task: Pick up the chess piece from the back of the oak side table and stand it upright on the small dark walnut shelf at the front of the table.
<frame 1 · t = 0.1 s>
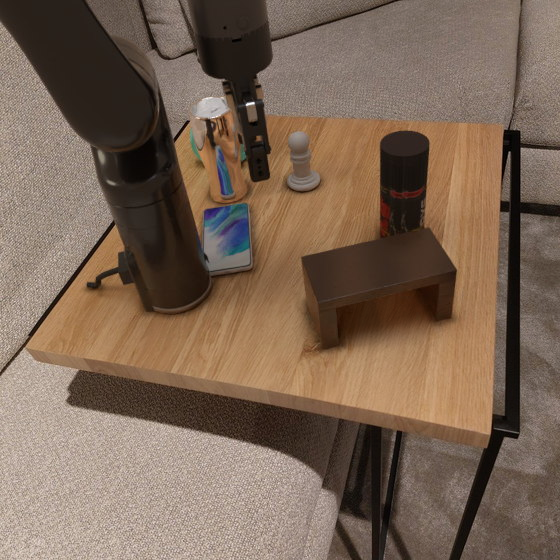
hand: (254, 160, 69), 17 cm above the table, tool pointing down, fingers open, 8 cm apart
shelf: (376, 310, 73), on the table
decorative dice: (225, 157, 103), on the table
chess piece: (304, 183, 94), on the table
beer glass: (229, 193, 95), on the table
deodorant: (401, 238, 82), on the table
smartphone: (227, 241, 86), on the table, touching arm
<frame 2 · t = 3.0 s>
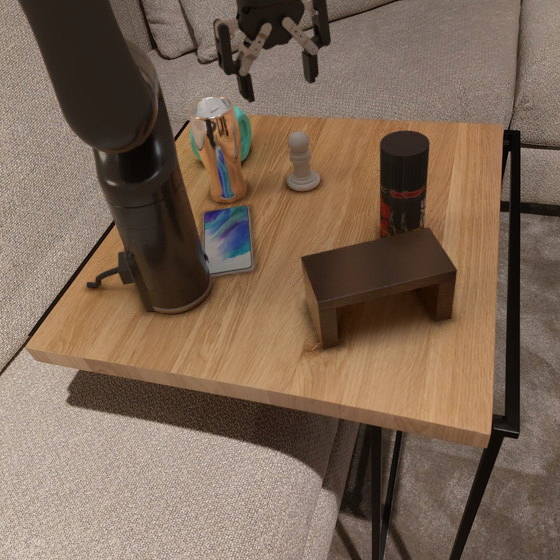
hand: (280, 90, 76), 19 cm above the table, tool pointing down, fingers open, 8 cm apart
smartphone: (228, 243, 86), on the table
everything else where it was.
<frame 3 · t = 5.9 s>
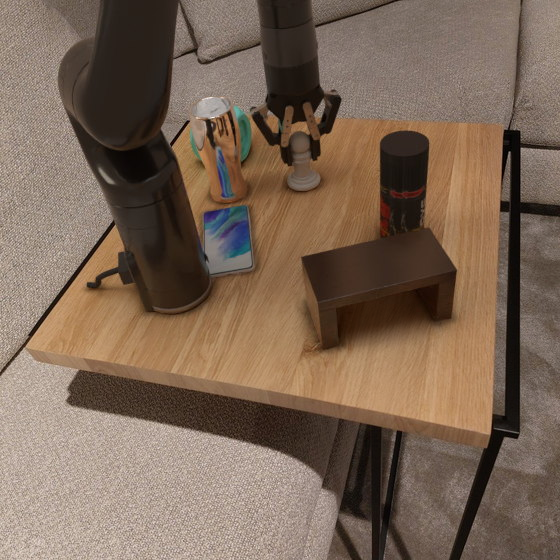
hand: (301, 160, 91), 4 cm above the table, tool pointing down, fingers closed on chess piece, 3 cm apart
chess piece: (304, 183, 94), on the table, touching gripper
everything else where it was.
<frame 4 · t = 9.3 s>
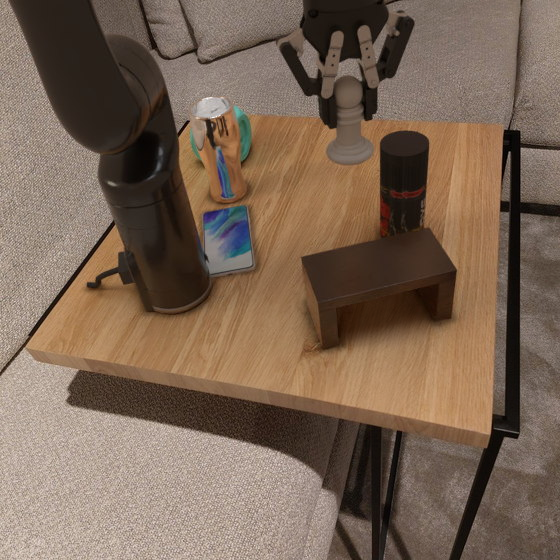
hand: (348, 120, 63), 22 cm above the table, tool pointing down, fingers closed on chess piece, 3 cm apart
chess piece: (350, 155, 66), point 18 cm above the table, touching gripper
everything else where it was.
when the fingers open (12 cm above the table, at t = 12.6 s): chess piece stays where it is, resting on shelf.
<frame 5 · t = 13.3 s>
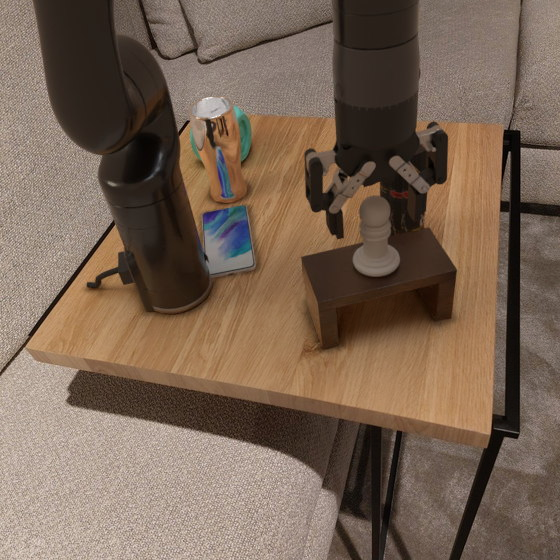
hand: (376, 225, 63), 13 cm above the table, tool pointing down, fingers open, 8 cm apart
chess piece: (376, 264, 67), point 8 cm above the table, touching shelf
everything else where it was.
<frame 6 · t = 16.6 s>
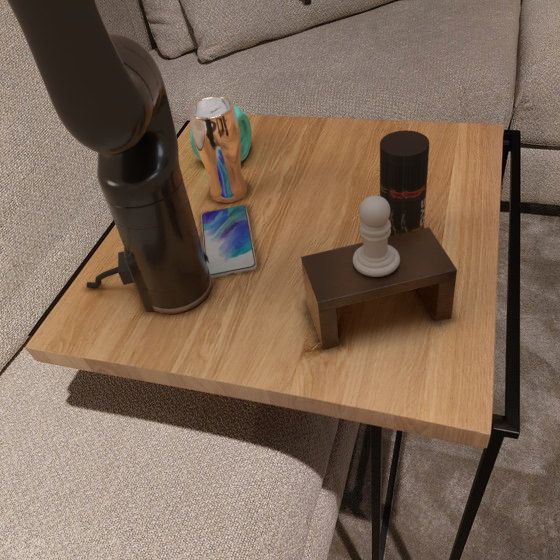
nothing on the table moved.
at the end: chess piece inside the target area on the shelf (0.0 cm from its centre), point 7.8 cm above the shelf's base; chess piece tilted 0°; the gripper is holding nothing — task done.
